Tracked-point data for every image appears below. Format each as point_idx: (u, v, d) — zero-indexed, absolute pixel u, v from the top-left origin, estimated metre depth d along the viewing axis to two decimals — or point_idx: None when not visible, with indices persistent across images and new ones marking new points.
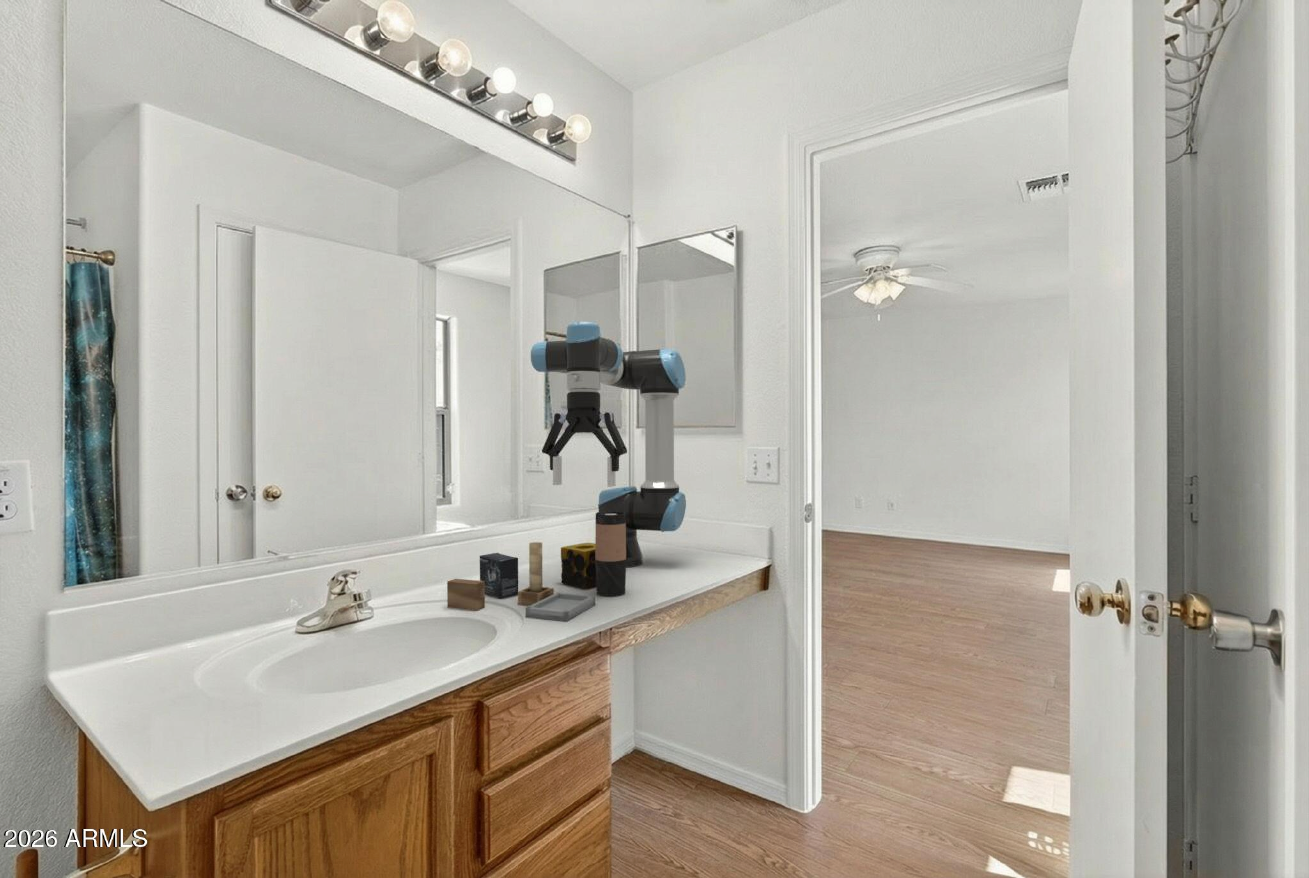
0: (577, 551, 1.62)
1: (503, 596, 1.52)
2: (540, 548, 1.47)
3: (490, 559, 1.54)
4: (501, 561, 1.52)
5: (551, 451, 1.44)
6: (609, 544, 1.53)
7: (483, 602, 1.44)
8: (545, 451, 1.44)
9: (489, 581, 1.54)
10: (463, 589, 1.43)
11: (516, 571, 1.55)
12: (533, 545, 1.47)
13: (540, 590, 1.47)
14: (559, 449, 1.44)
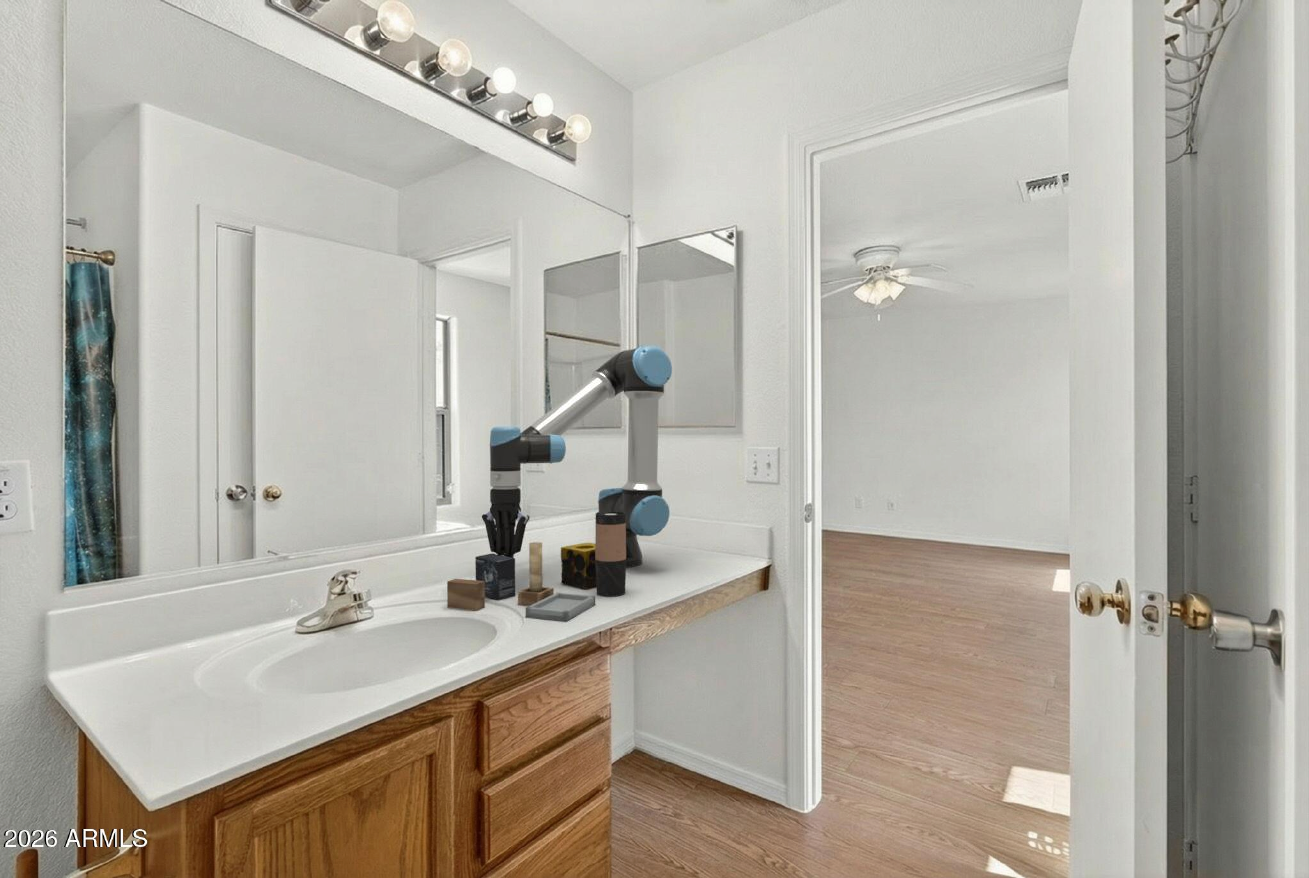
0: (577, 551, 1.62)
1: (500, 597, 1.51)
2: (540, 548, 1.47)
3: (487, 560, 1.53)
4: (498, 562, 1.51)
5: (497, 550, 1.59)
6: (609, 544, 1.53)
7: (483, 602, 1.44)
8: (493, 549, 1.59)
9: (486, 582, 1.53)
10: (463, 589, 1.43)
11: (513, 572, 1.54)
12: (533, 545, 1.47)
13: (540, 590, 1.47)
14: (502, 545, 1.60)
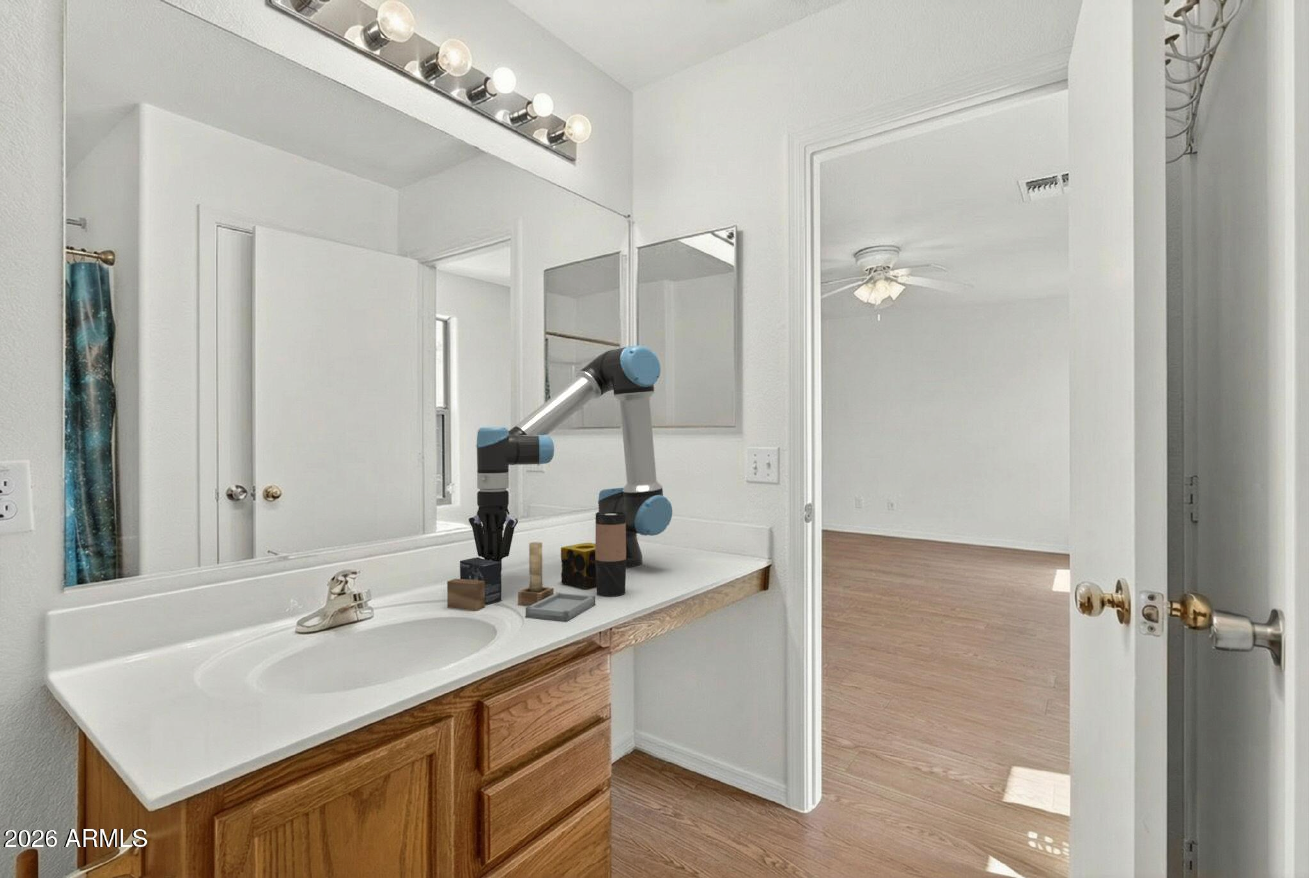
0: (577, 551, 1.62)
1: (486, 602, 1.47)
2: (540, 548, 1.47)
3: (472, 564, 1.48)
4: (484, 566, 1.46)
5: (485, 555, 1.54)
6: (609, 544, 1.53)
7: (483, 602, 1.44)
8: (480, 553, 1.54)
9: None
10: (463, 589, 1.43)
11: (499, 576, 1.49)
12: (533, 545, 1.47)
13: (540, 590, 1.47)
14: (490, 549, 1.55)
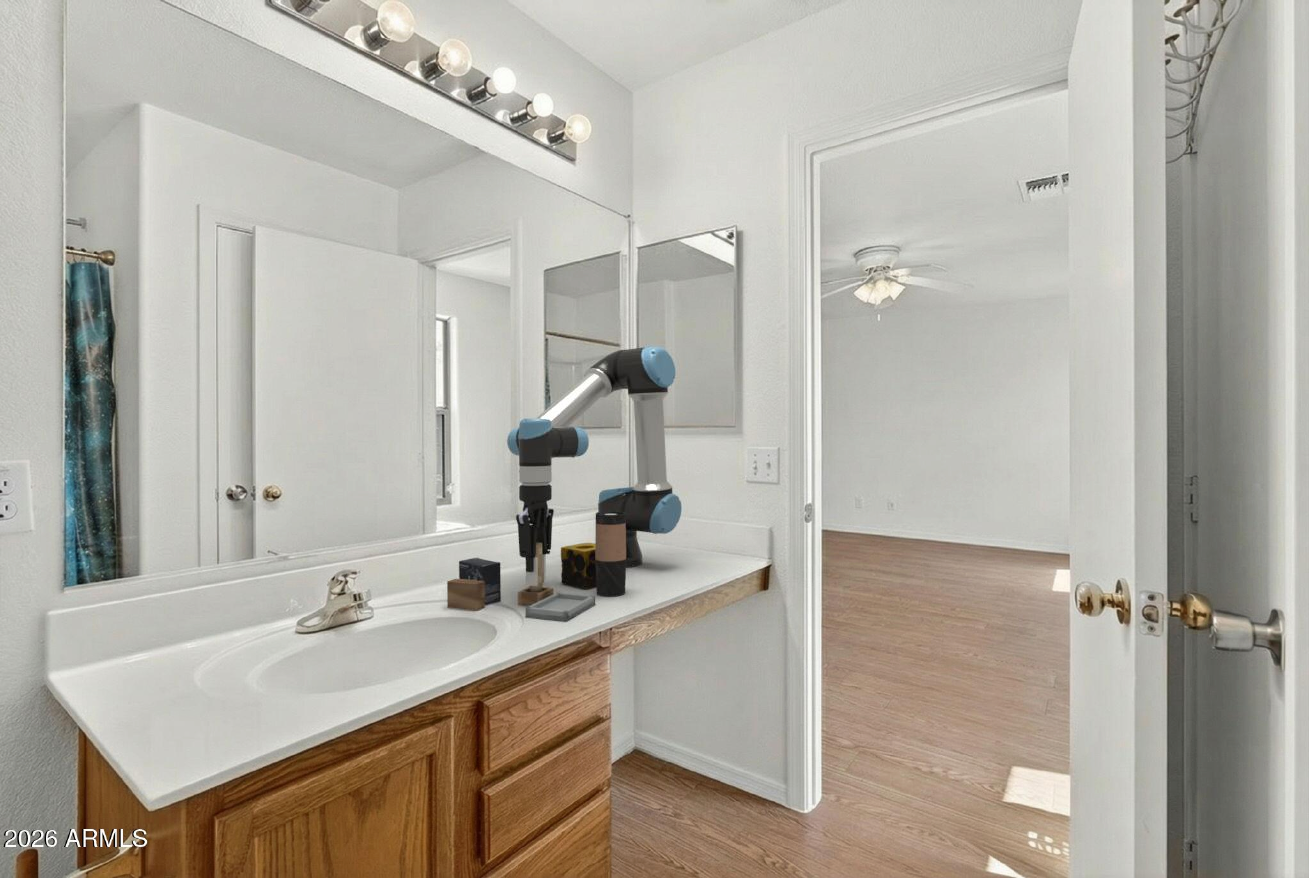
0: (577, 551, 1.62)
1: (485, 603, 1.46)
2: (540, 548, 1.47)
3: (471, 564, 1.48)
4: (483, 566, 1.46)
5: None
6: (609, 544, 1.53)
7: (483, 602, 1.44)
8: None
9: None
10: (463, 589, 1.43)
11: (498, 576, 1.49)
12: None
13: (540, 590, 1.47)
14: None
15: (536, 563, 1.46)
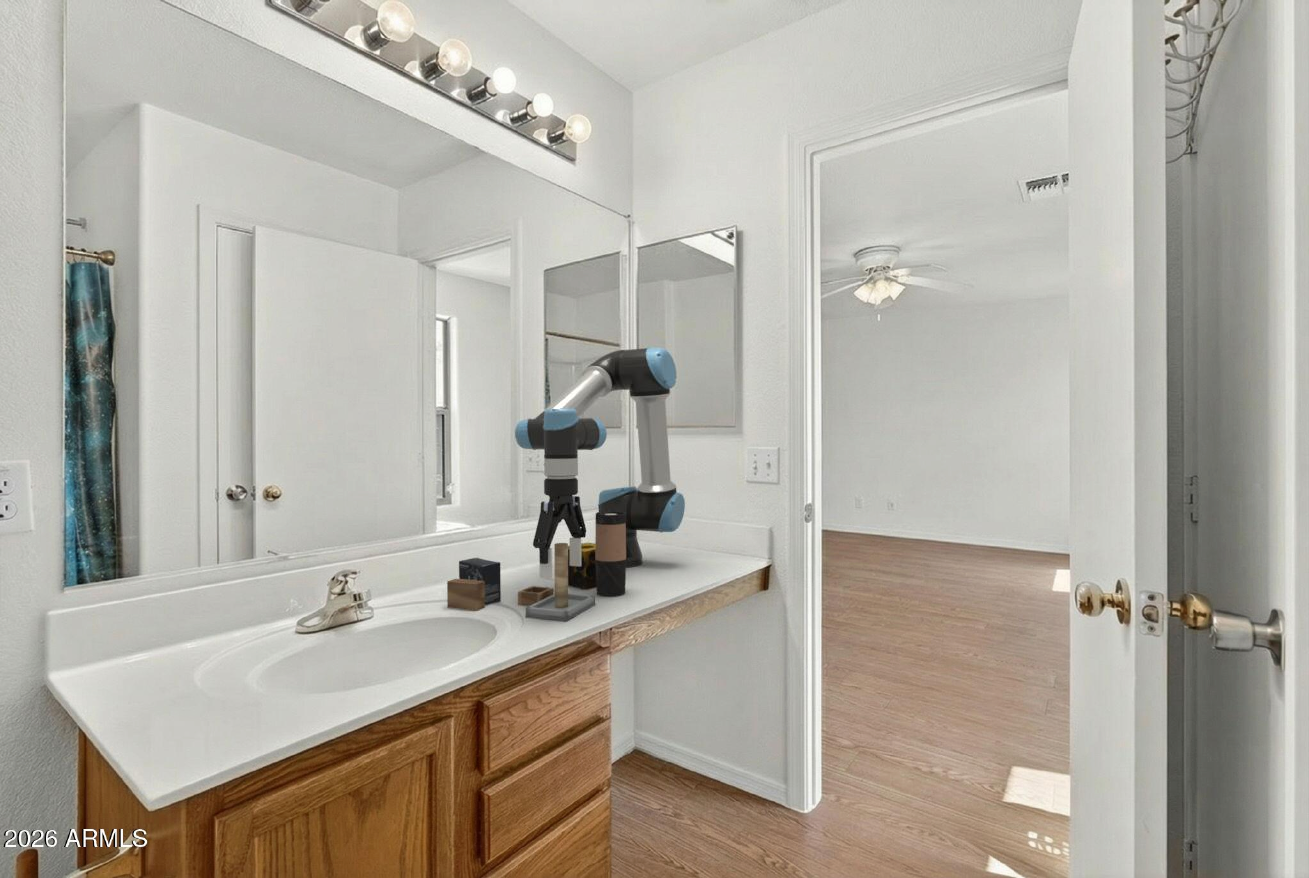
0: None
1: (485, 603, 1.46)
2: (566, 549, 1.41)
3: (471, 564, 1.48)
4: (483, 566, 1.46)
5: None
6: (609, 544, 1.53)
7: (483, 602, 1.44)
8: None
9: None
10: (463, 589, 1.43)
11: (498, 576, 1.49)
12: (559, 546, 1.40)
13: (566, 593, 1.41)
14: (573, 531, 1.47)
15: (551, 554, 1.34)
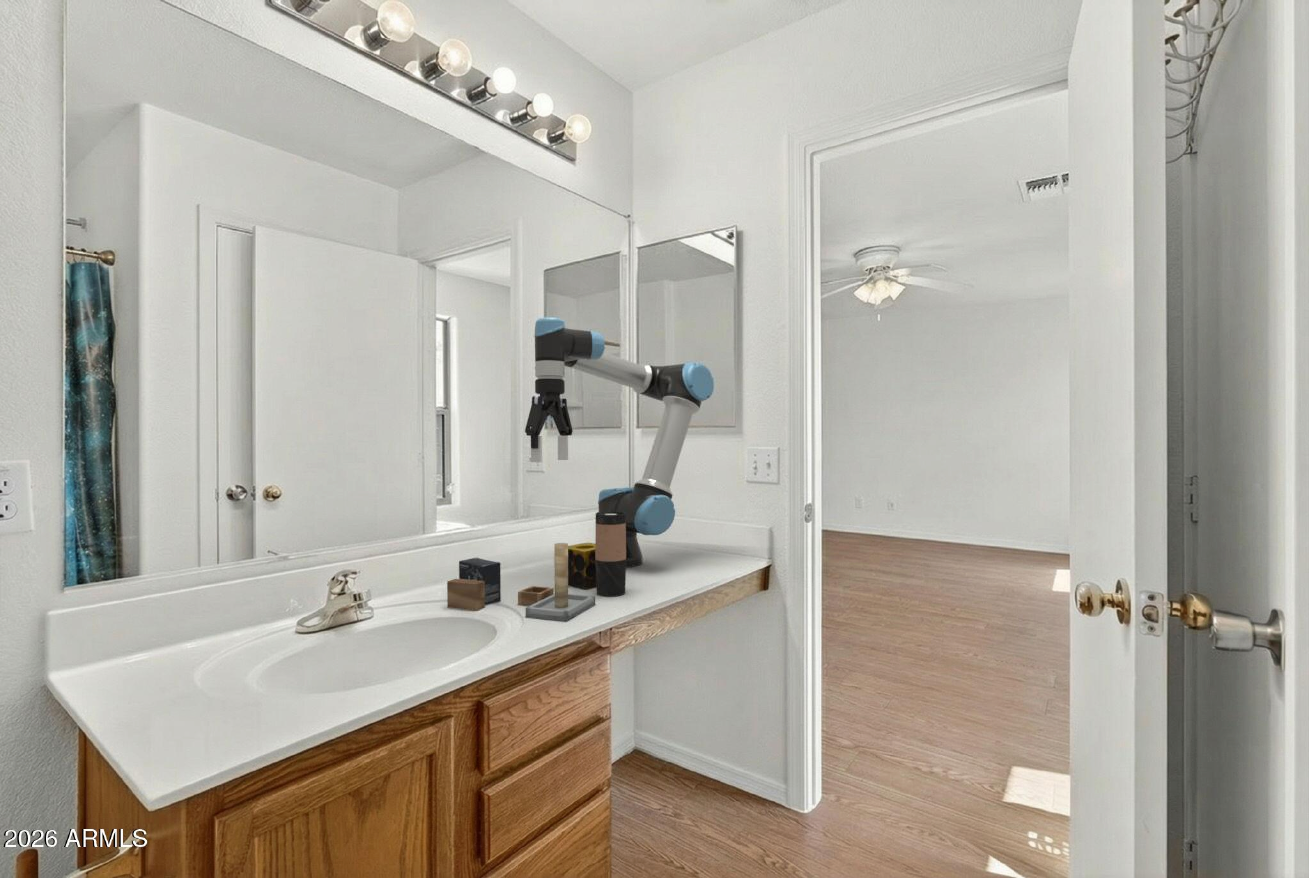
0: (577, 551, 1.62)
1: (485, 603, 1.46)
2: (566, 549, 1.41)
3: (471, 564, 1.48)
4: (483, 566, 1.46)
5: None
6: (609, 544, 1.53)
7: (483, 602, 1.44)
8: None
9: None
10: (463, 589, 1.43)
11: (498, 576, 1.49)
12: (559, 546, 1.40)
13: (566, 593, 1.41)
14: (561, 429, 1.68)
15: (540, 441, 1.56)
